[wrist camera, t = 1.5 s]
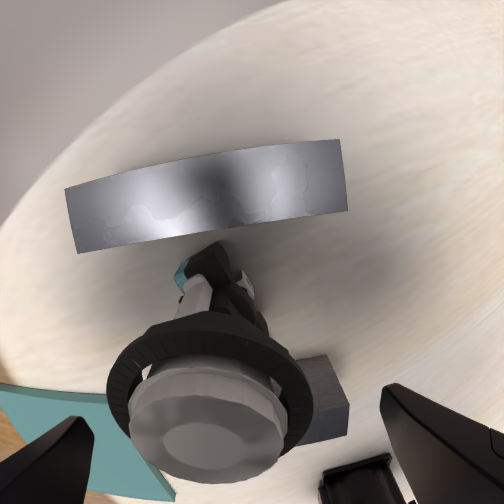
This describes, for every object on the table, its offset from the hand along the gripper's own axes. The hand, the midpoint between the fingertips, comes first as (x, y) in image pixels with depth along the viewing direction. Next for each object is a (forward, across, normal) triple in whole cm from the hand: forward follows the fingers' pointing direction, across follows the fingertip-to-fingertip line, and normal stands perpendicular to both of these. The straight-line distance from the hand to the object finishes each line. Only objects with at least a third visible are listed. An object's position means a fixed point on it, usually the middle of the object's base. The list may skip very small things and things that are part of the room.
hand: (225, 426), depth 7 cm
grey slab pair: (+9, 0, +2) cm, 9 cm away
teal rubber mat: (+9, +16, +13) cm, 22 cm away
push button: (+9, 0, 0) cm, 9 cm away
